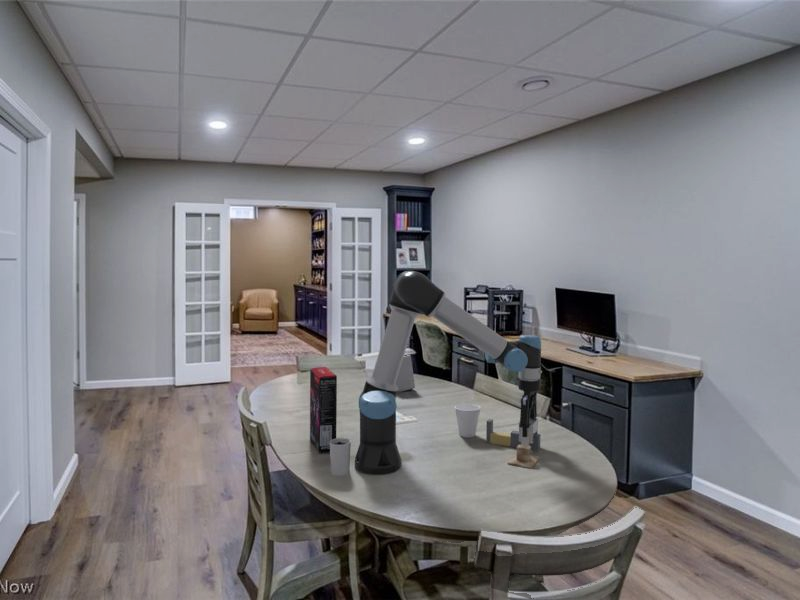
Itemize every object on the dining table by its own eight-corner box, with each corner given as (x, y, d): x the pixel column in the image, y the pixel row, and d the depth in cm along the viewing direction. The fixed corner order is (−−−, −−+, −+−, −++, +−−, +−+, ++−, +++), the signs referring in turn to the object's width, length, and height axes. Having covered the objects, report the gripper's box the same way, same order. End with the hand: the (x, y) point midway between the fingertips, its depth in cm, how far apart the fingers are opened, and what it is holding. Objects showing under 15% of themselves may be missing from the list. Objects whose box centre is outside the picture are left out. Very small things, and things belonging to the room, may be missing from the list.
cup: (459, 440, 206) (460, 411, 205) (450, 432, 215) (450, 404, 214) (484, 438, 208) (485, 409, 207) (474, 430, 218) (474, 403, 217)
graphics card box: (308, 439, 206) (308, 367, 204) (327, 437, 209) (326, 366, 207) (318, 455, 190) (318, 376, 188) (338, 452, 193) (338, 375, 191)
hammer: (486, 442, 204) (486, 421, 203) (488, 440, 206) (489, 419, 206) (538, 450, 195) (538, 428, 194) (540, 448, 198) (540, 426, 197)
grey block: (518, 441, 196) (519, 422, 195) (523, 435, 202) (524, 416, 202) (532, 443, 194) (533, 424, 193) (537, 437, 200) (538, 418, 200)
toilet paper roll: (325, 472, 175) (325, 441, 174) (342, 466, 180) (341, 436, 179) (338, 478, 170) (338, 446, 170) (355, 472, 175) (355, 441, 174)
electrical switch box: (378, 391, 290) (372, 354, 288) (403, 384, 296) (398, 348, 294) (389, 397, 277) (383, 359, 274) (415, 390, 283) (410, 352, 280)
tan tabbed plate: (507, 464, 182) (507, 449, 182) (515, 454, 191) (516, 440, 191) (531, 468, 179) (532, 453, 178) (539, 458, 188) (539, 444, 187)
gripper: (533, 385, 186) (531, 452, 187) (546, 374, 204) (544, 435, 205) (511, 383, 189) (509, 449, 191) (526, 372, 207) (524, 432, 209)
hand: (528, 441), depth 198 cm, fingers closed on grey block, 7 cm apart
